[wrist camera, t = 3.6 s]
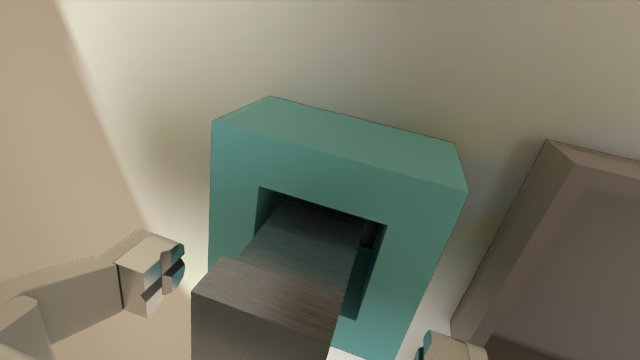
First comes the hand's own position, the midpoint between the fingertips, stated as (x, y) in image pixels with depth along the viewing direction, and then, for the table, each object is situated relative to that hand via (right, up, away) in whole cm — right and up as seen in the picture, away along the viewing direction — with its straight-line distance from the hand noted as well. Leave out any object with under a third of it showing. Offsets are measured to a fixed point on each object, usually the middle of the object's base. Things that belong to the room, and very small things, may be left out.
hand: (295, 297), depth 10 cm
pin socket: (+2, +3, +5) cm, 6 cm away
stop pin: (+2, +3, +5) cm, 6 cm away
